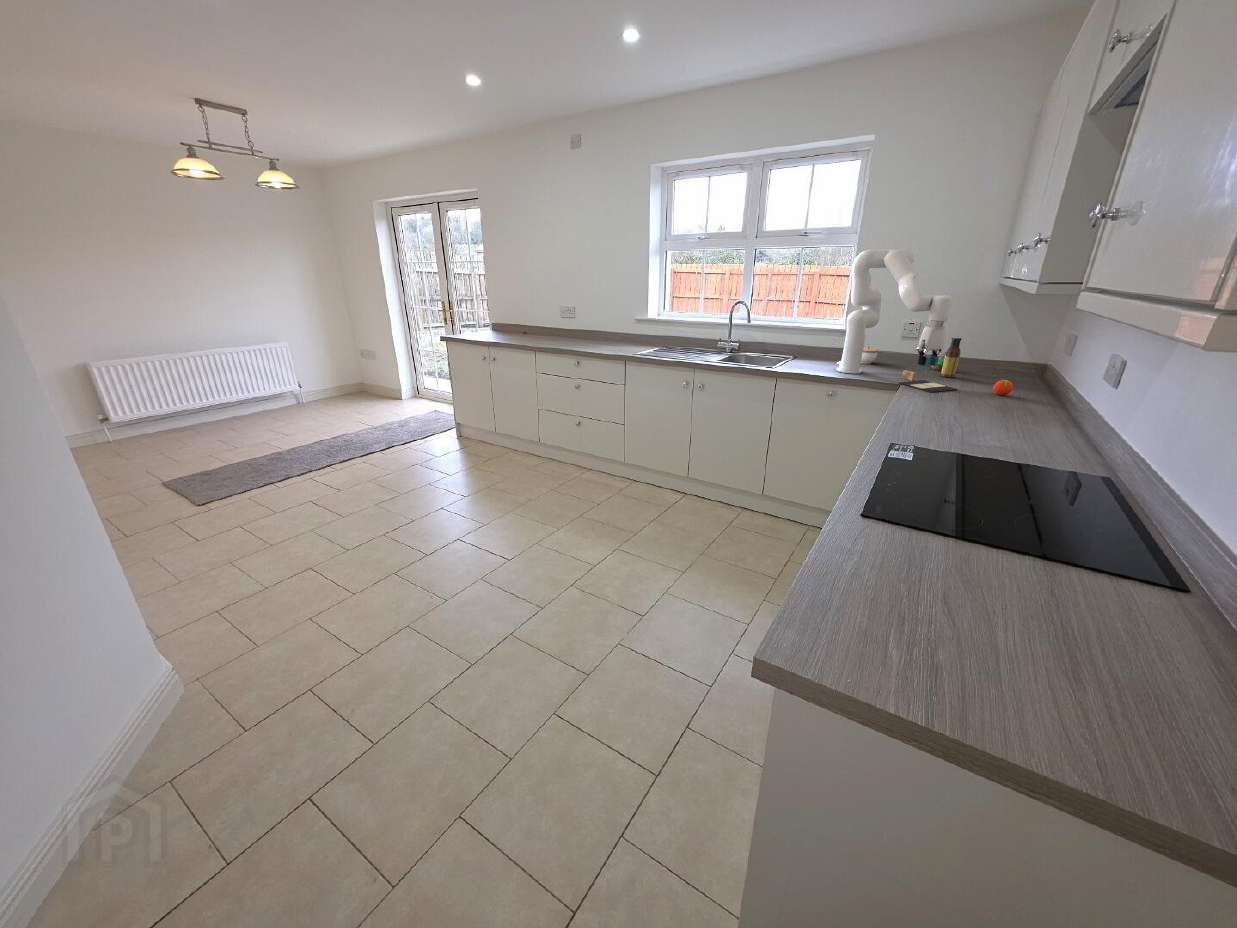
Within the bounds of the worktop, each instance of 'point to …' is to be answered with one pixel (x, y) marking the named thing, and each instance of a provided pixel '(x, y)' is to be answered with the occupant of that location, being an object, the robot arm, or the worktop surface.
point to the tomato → (1003, 387)
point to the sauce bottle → (951, 358)
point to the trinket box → (869, 355)
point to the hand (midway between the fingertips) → (926, 363)
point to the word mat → (927, 386)
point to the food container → (939, 362)
